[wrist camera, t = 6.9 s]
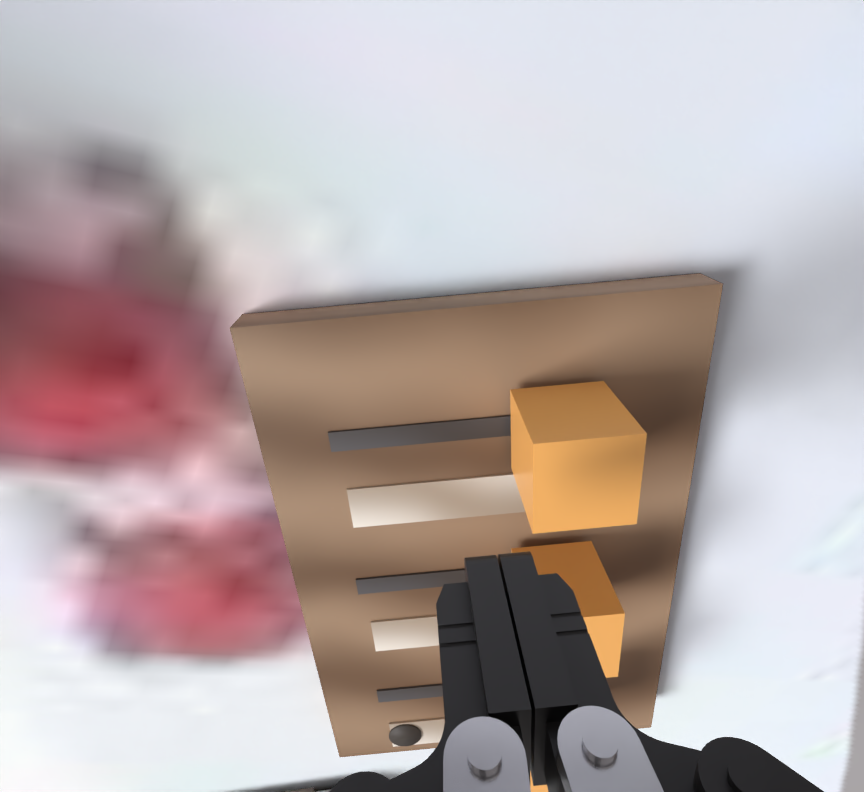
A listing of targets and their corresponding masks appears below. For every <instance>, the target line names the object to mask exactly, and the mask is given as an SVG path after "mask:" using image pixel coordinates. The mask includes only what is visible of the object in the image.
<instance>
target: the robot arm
mask: <svg viewBox="0 0 864 792" xmlns="http://www.w3.org/2000/svg"><path fill="white" fill-rule="evenodd" d="M464 565H465V582H461V583H451V584H444V585H443V588H442V590H441V593H440V595H439V598H438V600H437V603H436V611H437V624H438V637H439V650H440V663H441V676H442V689H443V702H444V715H445V724H444V730H443V734H442V737H441V740H440V742H439V744H438V746H437V747H436V749H435V750H434V752H433V753H432V754H431V755H430V756H429V757H428V759H426V760H425V761H424V762H423V763H421V764H420V765H418V766H416V767H415V768H413V769H411V770H409V771H407V772H405V773H403V774H401V775H399V776H397V777H395V778H393V779H391V780H389V779H388V778H386V777H384V776H383V775H381V774H378V773H375V772H358V773H354V774H352V775H349V776H347V777H345V778H344V779H342V780H341V781H339V782H338V783H337V784H336V785H335V786H334V787H333V788H332V789H331V790H330V791H329V792H531V789H530V771H531V776H532V781H533V786H538V785H547V787H548V792H824V791H822V790H821V789H819V788H818V787H816V786H815V785H814V784H812V783H811V782H809V781H808V780H806V779H805V778H804V777H802V776H801V775H799V774H798V773H796V772H795V771H794V770H792V769H791V768H789V767H788V766H786V765H785V764H784V763H782V762H781V761H779V760H778V759H776V758H775V757H773V756H772V755H771V754H769V753H768V752H766V751H765V750H763V749H762V748H760V747H758V746H757V745H755V744H753V743H751V742H748V741H745V740H742V739H739V738H733V737H722V738H717V739H714V740H712V741H710V742H709V743H707V744H706V745H705V746H704V748H703V749H702V751H699V750H695V749H691V748H687V747H683V746H678V745H674V744H670V743H666V742H662V741H659V740H656V739H654V738H652V737H649V736H647V735H646V734H644V733H642V732H641V731H639V730H638V729H637V728H635V727H634V726H633V725H632V724H631V723H630V722H629V721H628V720H627V719H626V718H625V717H624V716H623V714H622V713H621V712H620V710H619V709H618V707H617V705H616V703H615V701H614V699H613V696H612V693H611V691H610V688H609V685H608V683H607V680H606V677H605V674H604V672H603V669H602V666H601V664H600V661H599V658H598V656H597V653H596V650H595V648H594V645H593V642H592V640H591V637H590V634H588V630H587V626H586V624H585V621H584V618H583V616H582V615H581V610H580V608H579V605H578V602H577V600H576V597H575V594H574V592H573V590H572V589H571V588H570V587H569V586H568V584H567V583H566V582H565V581H564V580H563V579H562V578H561V577H560V576H559V575H558V574H557V573H554V574H543V575H538V573H537V570H536V566H535V563H534V560H533V557H532V554H531V552H530V551H528V552H517V553H507V554H498V558H497V556H496V555H487V556H477V557H466V558H464Z"/></svg>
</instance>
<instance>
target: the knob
mask: <svg viewBox="0 0 864 792" xmlns="http://www.w3.org/2000/svg"><path fill="white" fill-rule="evenodd" d="M510 411H511V469H512V472H513V475H514V478H515V481H516V484H517V487H518V490H519V493H520V496H521V499H522V502H523V506H524V509H525V512H526V515H527V518H528V521H529V524H530V527H531V530H532V533H533V534H536V533H547V532H557V531H568V530H579V529H590V528H600V527H611V526H622V525H632V524H637V517H638V508H639V499H640V491H641V482H642V473H643V464H644V455H645V447H646V438H647V433H646V432H645V431H644V429H643V428H642V427H641V426H640V424H639V423H638V422H637V421H636V420H635V418H634V417H633V416H632V415H631V414H630V412H629V411H628V410H627V409H626V407H625V406H624V405H623V404H622V403H621V401H620V400H619V399H618V398H617V397H616V395H615V394H614V393H613V392H612V390H611V389H610V388H609V387H608V386H607V384H606V383H605V382H604V381H597V382H586V383H575V384H564V385H553V386H542V387H531V388H520V389H510Z"/></svg>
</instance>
